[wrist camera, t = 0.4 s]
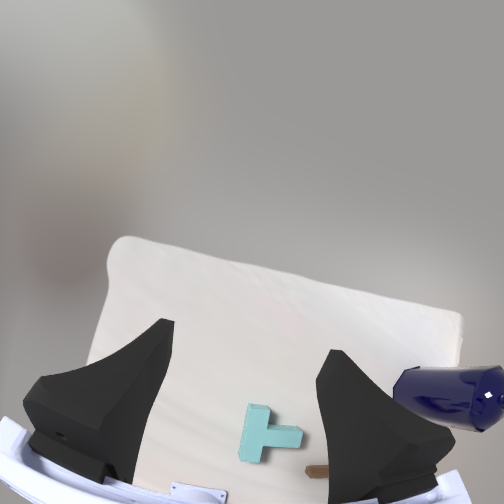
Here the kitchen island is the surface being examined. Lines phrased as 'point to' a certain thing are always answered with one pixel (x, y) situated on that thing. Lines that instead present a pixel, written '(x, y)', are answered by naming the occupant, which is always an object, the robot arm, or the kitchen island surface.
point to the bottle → (454, 395)
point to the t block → (264, 434)
